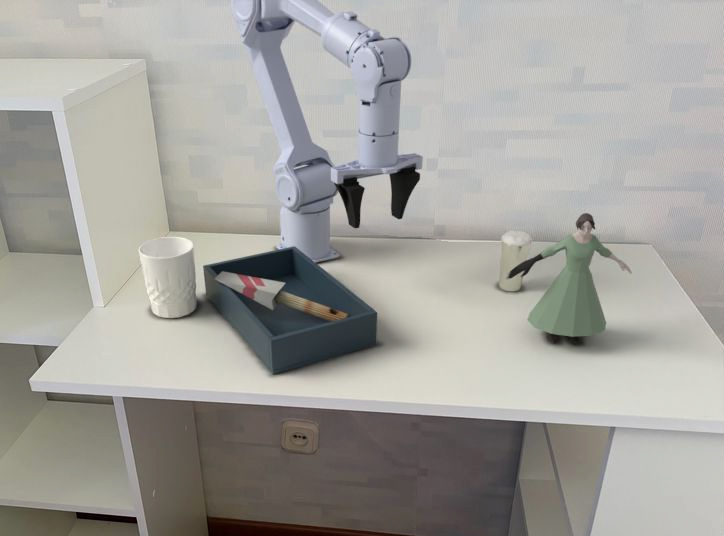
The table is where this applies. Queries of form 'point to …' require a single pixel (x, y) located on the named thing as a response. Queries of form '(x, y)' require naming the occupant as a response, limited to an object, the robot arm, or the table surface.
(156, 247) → the white cup
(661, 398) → the table surface
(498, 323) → the table surface
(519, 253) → the milkshake
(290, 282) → the tub
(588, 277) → the character figurine
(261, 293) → the paintbrush
